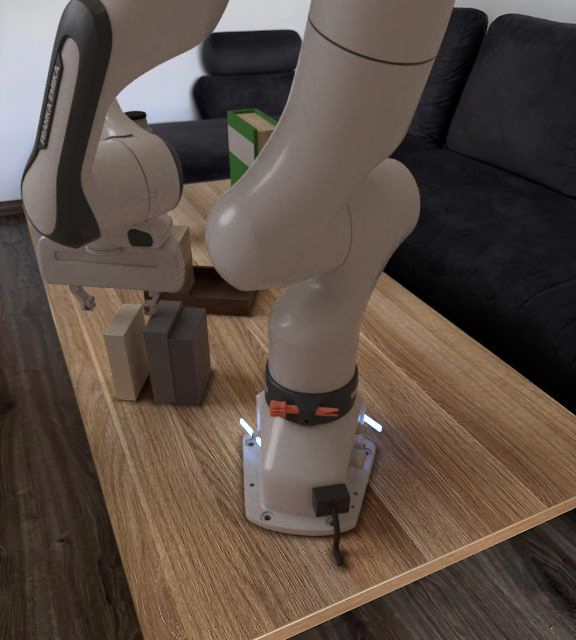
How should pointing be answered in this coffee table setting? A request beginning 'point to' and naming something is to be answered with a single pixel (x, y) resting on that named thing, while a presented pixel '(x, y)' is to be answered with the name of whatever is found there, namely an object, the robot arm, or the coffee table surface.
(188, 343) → the grey books
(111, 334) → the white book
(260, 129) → the hardback book
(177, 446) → the coffee table surface
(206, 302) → the dark wooden book rack
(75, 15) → the robot arm
